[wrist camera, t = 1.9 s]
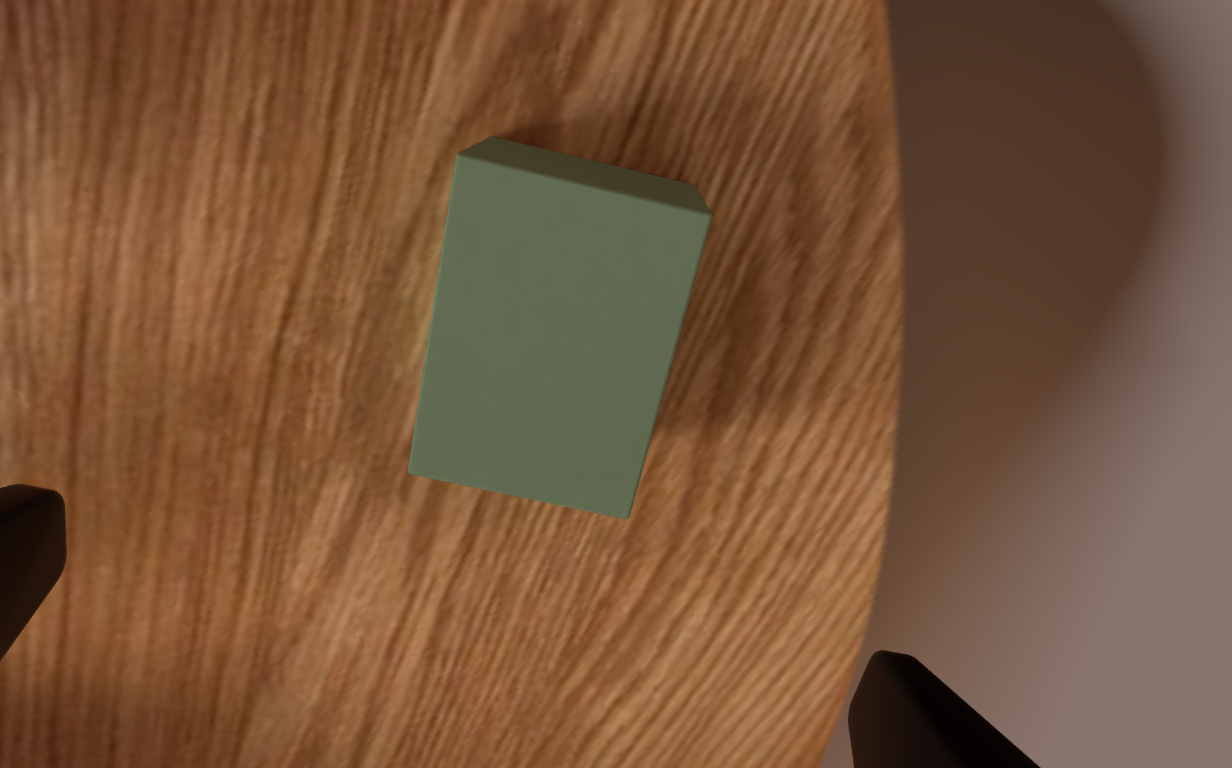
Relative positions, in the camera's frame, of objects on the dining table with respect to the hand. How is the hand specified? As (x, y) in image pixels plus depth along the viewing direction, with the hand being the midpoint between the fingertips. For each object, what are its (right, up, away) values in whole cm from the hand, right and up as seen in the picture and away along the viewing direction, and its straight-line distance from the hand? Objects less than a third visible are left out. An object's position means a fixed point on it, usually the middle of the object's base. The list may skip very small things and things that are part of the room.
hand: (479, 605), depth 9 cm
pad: (0, +5, +11) cm, 12 cm away
